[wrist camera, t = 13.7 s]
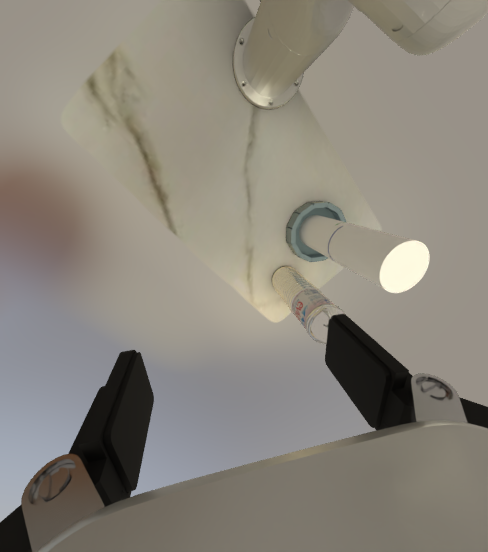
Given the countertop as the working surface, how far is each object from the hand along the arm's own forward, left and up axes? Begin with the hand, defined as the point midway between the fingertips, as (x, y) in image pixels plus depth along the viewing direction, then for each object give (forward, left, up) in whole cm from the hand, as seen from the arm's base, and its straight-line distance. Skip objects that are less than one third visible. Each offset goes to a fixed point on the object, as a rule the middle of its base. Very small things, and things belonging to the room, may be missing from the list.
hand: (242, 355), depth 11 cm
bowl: (+4, +24, -40) cm, 47 cm away
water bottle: (+15, +17, -40) cm, 46 cm away
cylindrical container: (+4, +24, -40) cm, 46 cm away
